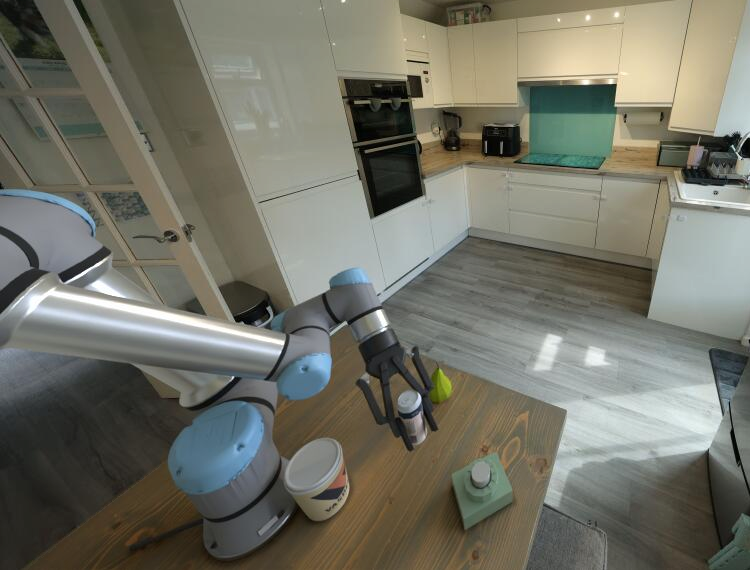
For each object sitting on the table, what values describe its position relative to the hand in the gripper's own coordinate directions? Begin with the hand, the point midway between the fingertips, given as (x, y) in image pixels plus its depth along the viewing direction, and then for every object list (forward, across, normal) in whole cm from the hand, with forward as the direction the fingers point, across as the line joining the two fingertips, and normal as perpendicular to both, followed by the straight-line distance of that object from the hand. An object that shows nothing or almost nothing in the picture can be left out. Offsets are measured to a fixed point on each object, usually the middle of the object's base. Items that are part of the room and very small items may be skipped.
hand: (423, 439), depth 63 cm
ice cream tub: (0, +17, -14) cm, 22 cm away
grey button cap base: (+15, -5, +1) cm, 16 cm away
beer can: (0, 0, -5) cm, 5 cm away
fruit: (-2, -11, -16) cm, 20 cm away
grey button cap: (+11, -5, +5) cm, 14 cm away
